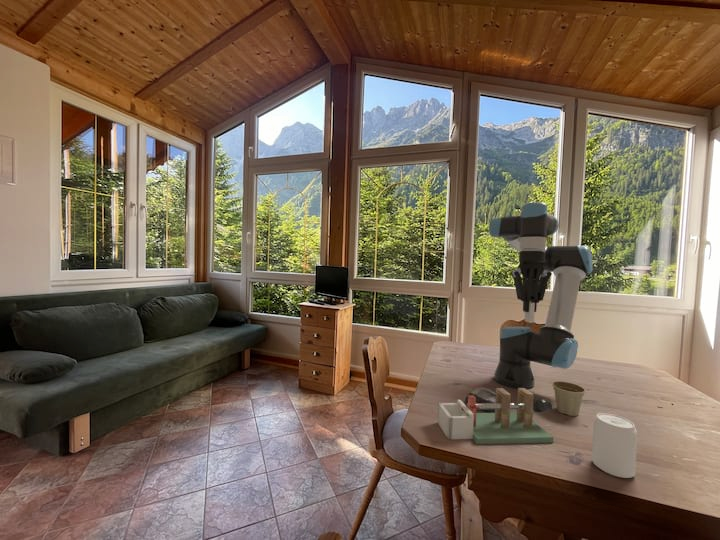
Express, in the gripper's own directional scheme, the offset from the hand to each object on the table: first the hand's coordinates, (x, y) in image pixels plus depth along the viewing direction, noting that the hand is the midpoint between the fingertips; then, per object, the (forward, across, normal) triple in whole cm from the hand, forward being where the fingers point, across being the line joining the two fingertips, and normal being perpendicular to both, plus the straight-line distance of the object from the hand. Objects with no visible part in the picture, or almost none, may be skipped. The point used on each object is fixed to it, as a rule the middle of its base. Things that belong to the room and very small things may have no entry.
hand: (529, 321), depth 101 cm
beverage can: (+31, -4, +28) cm, 42 cm away
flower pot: (+31, -15, 0) cm, 34 cm away
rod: (+28, +12, +10) cm, 32 cm away
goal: (+30, +28, +10) cm, 43 cm away
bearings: (+29, +10, +10) cm, 32 cm away
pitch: (+30, +14, +10) cm, 35 cm away
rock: (+31, +11, -5) cm, 33 cm away
